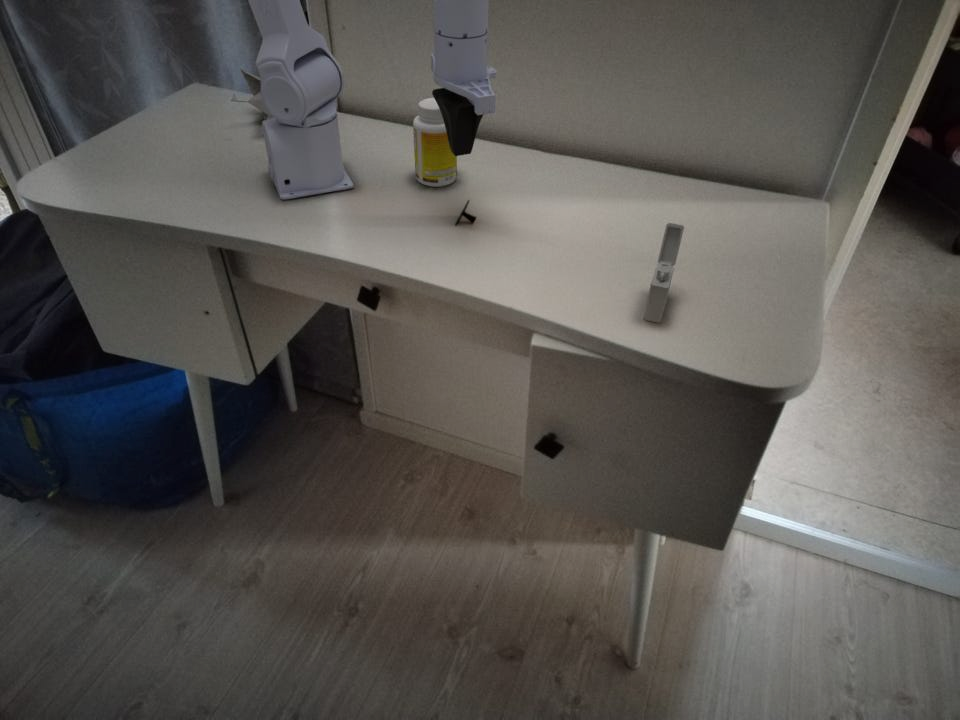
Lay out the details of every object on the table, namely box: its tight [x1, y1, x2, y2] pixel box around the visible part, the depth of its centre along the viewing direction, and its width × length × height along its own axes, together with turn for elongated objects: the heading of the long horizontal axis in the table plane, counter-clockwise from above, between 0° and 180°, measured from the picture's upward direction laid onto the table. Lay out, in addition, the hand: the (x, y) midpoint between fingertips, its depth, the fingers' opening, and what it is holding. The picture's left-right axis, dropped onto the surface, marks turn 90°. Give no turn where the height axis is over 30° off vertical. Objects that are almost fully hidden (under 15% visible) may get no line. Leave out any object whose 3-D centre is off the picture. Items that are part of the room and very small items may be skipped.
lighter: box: [643, 222, 685, 324], centre depth 71 cm, size 7×2×8 cm, turn 160°
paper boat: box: [230, 69, 274, 137], centre depth 107 cm, size 12×6×9 cm
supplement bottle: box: [412, 97, 458, 188], centre depth 92 cm, size 6×6×10 cm
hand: (461, 152), depth 83 cm, fingers closed
